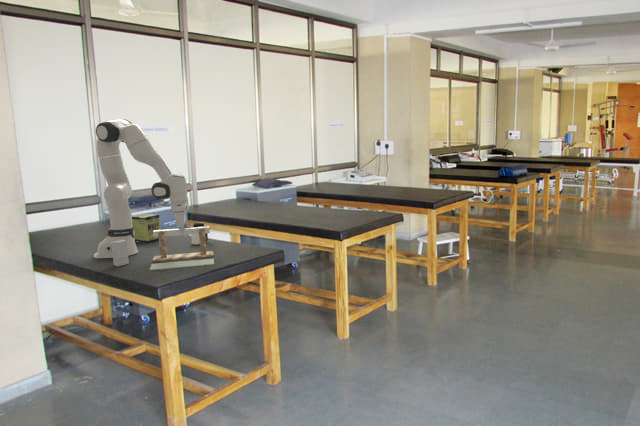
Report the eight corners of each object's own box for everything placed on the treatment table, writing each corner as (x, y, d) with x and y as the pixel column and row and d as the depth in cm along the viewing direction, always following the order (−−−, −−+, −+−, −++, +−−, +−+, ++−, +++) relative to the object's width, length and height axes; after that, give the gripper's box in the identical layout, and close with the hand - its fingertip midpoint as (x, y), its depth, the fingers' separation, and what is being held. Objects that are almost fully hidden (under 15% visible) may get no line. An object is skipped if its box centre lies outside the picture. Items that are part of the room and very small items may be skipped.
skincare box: (124, 262, 258) (122, 239, 256) (129, 264, 255) (127, 240, 253) (113, 265, 253) (110, 241, 251) (117, 266, 250) (115, 242, 248)
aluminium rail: (153, 237, 259) (152, 231, 258) (154, 236, 262) (153, 230, 261) (209, 233, 265) (209, 227, 264) (209, 231, 268) (209, 226, 267)
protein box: (148, 243, 302) (146, 217, 299) (130, 241, 310) (128, 216, 307) (161, 239, 311) (159, 214, 308) (144, 237, 319) (141, 213, 316)
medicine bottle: (203, 244, 294) (201, 224, 292) (191, 244, 295) (190, 224, 293) (208, 241, 301) (206, 221, 299) (197, 241, 302) (195, 221, 300)
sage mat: (149, 270, 242) (149, 269, 242) (151, 265, 252) (151, 263, 251) (214, 264, 248) (214, 263, 248) (213, 259, 258) (213, 258, 258)
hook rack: (153, 261, 258) (150, 232, 256) (154, 257, 266) (151, 229, 264) (213, 256, 265) (211, 228, 262) (213, 252, 272) (211, 225, 270)
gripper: (174, 203, 270) (176, 229, 272) (172, 209, 250) (174, 236, 253) (186, 202, 271) (189, 228, 274) (185, 208, 252) (187, 235, 254)
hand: (182, 232), depth 263 cm, fingers open, 8 cm apart
